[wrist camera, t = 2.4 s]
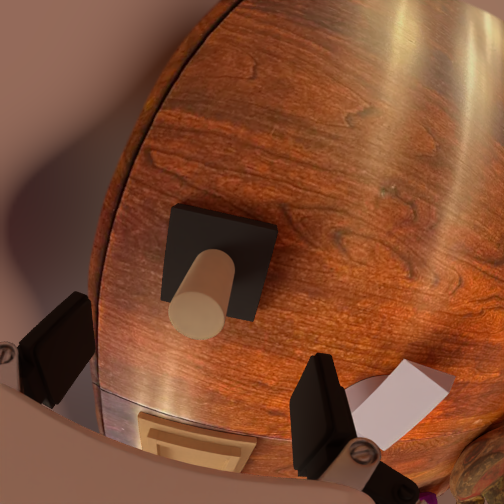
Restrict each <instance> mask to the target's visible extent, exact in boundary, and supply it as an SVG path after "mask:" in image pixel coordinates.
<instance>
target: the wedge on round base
mask: <svg viewBox="0 0 504 504" xmlns="http://www.w3.org/2000/svg"><path fill="white" fill-rule="evenodd" d="M455 377H456V376H453V375H450V374H447V373H444V372H441V371H438V370H435V369H432V368H429V367H426V366H424V365H421V364H418V363H415V362H412V361H409V360H406V359H403V361H402V362H401V363H400V364H399V365H398V366H397V368H396V369H395V370H394V371H393V372H392V373H391V374H390V375H382V376H375V377H371V378H367V379H365V380H362V381H360V382H358V383H355V384H354V385H352V386H350V387H348V388H347V389H345V392H346V396H347V399H348V403H349V407H350V410H351V414H352V418H353V421H354V425H355V429H356V433H357V437H363V438H368V439H370V440H372V441H373V442H375V443H376V444H377V445H378V447H379V448H381V449H382V450H384V451H385V450H386V449H387V448H389V447H390V446H391V445H392V444H394V443H395V442H396V441H398V440H399V439H400V438H401V437H402V436H404V435H405V434H406V433H407V432H408V431H410V430H411V429H412V428H413V427H414V426H415V425H416V424H418V423H419V422H420V421H421V420H422V419H423V418H424V417H425V416H426V415H427V414H429V413H430V412H431V411H432V410H433V409H434V408H435V407H436V406H437V405H438V404H439V403H440V402H441V401H442V400H443V399H444V398H445V397H446V396H447V395H448V394H449V392H450V389H451V387H452V384H453V382H454V379H455Z"/></svg>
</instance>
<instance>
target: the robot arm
mask: <svg viewBox="0 0 504 504" xmlns="http://www.w3.org/2000/svg"><path fill="white" fill-rule="evenodd" d="M19 344H20V345H19V346H18V347H16V346H15V345H14V344H13V343H10V342H0V504H428V503H427V502H426V501H425V500H422V501H421V500H420V499H419V488H418V486H417V485H416V483H414V482H413V481H412V480H410V479H409V478H407V477H405V476H404V475H402V474H400V473H399V472H397V471H395V470H394V469H392V468H391V467H389V466H388V465H386V464H384V463H383V462H381V461H380V459H381V451H380V448H379V447H378V445H377V444H376V443H375V442H373V441H372V440H370V439H368V438H363V437H357V433H356V429H355V425H354V421H353V418H352V414H351V410H350V407H349V403H348V399H347V396H346V392H345V389H344V388H343V387H342V386H340V384H339V380H338V376H337V373H336V369H335V366H334V362H333V359H332V356H331V355H330V354H324V353H316V355H315V356H313V355H312V356H311V357H310V359H309V361H308V363H307V366H306V368H305V370H304V372H303V374H302V376H301V378H300V380H299V382H298V384H297V386H296V388H295V390H294V392H293V394H292V396H291V399H290V418H291V433H292V449H293V466H294V469H295V470H298V476H302V477H307V479H294V478H280V477H268V476H259V475H251V474H243V473H236V472H229V471H223V470H218V469H212V468H207V467H202V466H198V465H193V464H189V463H185V462H181V461H177V460H173V459H170V458H166V457H162V456H159V455H156V454H152V453H149V452H146V451H143V450H140V449H137V448H134V447H132V446H129V445H126V444H123V443H121V442H118V441H116V440H113V439H110V438H108V437H106V436H103V435H101V434H98V433H96V432H94V431H92V430H89V429H87V428H85V427H83V426H81V425H79V424H77V423H75V422H73V421H71V420H69V419H67V418H65V417H63V416H61V415H59V414H57V413H55V412H54V411H52V410H50V409H48V408H46V407H44V406H43V405H41V404H42V403H43V404H44V405H46V406H47V407H49V408H51V409H52V408H53V407H54V406H55V404H59V403H60V402H61V400H62V399H63V397H64V396H65V394H66V393H67V391H68V390H69V388H70V387H71V386H72V384H73V383H74V381H75V380H76V378H77V377H78V375H79V374H80V373H81V371H82V370H83V369H84V367H85V366H86V364H87V363H88V362H89V360H90V359H91V357H92V356H93V355H94V353H95V339H94V330H93V321H92V309H91V301H90V300H89V299H88V296H87V295H85V294H82V293H79V292H76V291H75V292H73V293H72V294H71V295H70V296H69V297H68V298H67V299H65V300H64V301H63V302H62V303H61V304H60V305H58V306H57V307H56V308H55V309H54V310H53V311H52V312H51V313H50V314H48V315H47V316H46V317H45V318H44V319H43V320H42V321H41V322H40V323H39V324H38V325H37V326H36V327H34V328H33V329H32V330H31V331H30V332H29V333H28V334H27V335H26V336H25V337H24V338H23V339H22V340H21V341H20V342H19Z"/></svg>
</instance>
